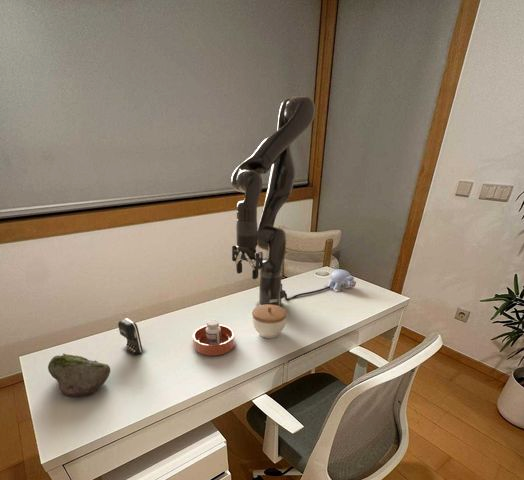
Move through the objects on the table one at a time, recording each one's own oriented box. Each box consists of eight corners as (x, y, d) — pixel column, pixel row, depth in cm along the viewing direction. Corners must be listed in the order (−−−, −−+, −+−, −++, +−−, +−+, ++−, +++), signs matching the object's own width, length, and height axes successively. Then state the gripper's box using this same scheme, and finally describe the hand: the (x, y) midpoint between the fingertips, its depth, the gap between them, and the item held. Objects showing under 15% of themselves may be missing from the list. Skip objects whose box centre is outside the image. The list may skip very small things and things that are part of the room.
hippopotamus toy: (344, 295, 152) (348, 276, 147) (322, 285, 162) (325, 267, 157) (360, 291, 157) (363, 272, 152) (337, 281, 167) (340, 263, 162)
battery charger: (123, 349, 111) (115, 320, 105) (133, 344, 114) (125, 316, 107) (133, 357, 108) (126, 327, 101) (143, 352, 110) (137, 323, 104)
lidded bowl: (247, 338, 119) (246, 311, 113) (259, 322, 129) (259, 297, 123) (279, 344, 116) (280, 317, 109) (289, 328, 125) (291, 302, 119)
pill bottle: (215, 338, 117) (214, 317, 112) (224, 344, 114) (223, 322, 109) (203, 343, 114) (201, 322, 109) (212, 349, 111) (211, 327, 106)
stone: (120, 386, 95) (112, 359, 89) (69, 409, 87) (56, 380, 81) (96, 359, 106) (88, 333, 100) (49, 377, 98) (37, 350, 92)
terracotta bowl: (217, 330, 123) (216, 320, 120) (242, 345, 115) (242, 334, 112) (186, 345, 114) (184, 334, 112) (211, 361, 106) (210, 350, 104)
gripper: (268, 234, 113) (267, 278, 122) (240, 227, 121) (241, 268, 130) (253, 238, 109) (253, 283, 118) (225, 230, 117) (227, 273, 126)
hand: (247, 275), depth 124 cm, fingers open, 8 cm apart
